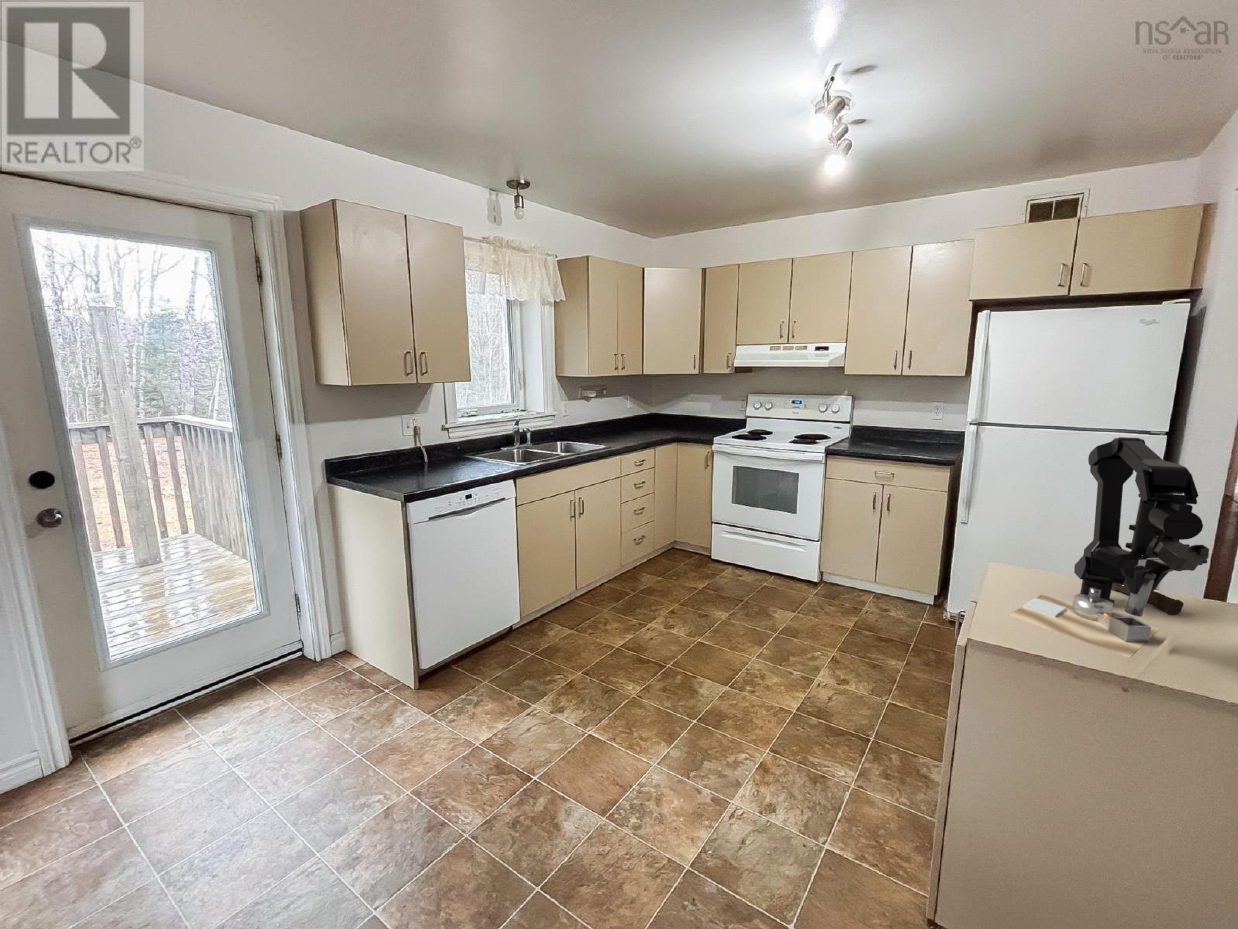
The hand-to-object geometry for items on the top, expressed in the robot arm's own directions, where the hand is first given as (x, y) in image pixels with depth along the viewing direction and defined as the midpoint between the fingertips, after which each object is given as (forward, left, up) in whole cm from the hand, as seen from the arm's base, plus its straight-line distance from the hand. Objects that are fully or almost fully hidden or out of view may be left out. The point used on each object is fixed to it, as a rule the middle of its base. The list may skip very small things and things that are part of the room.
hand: (1140, 593), depth 116 cm
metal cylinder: (0, 0, -5) cm, 5 cm away
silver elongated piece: (-2, -5, -10) cm, 12 cm away
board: (+1, -9, -12) cm, 15 cm away
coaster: (0, -16, -10) cm, 19 cm away
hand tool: (-28, -7, -12) cm, 32 cm away
